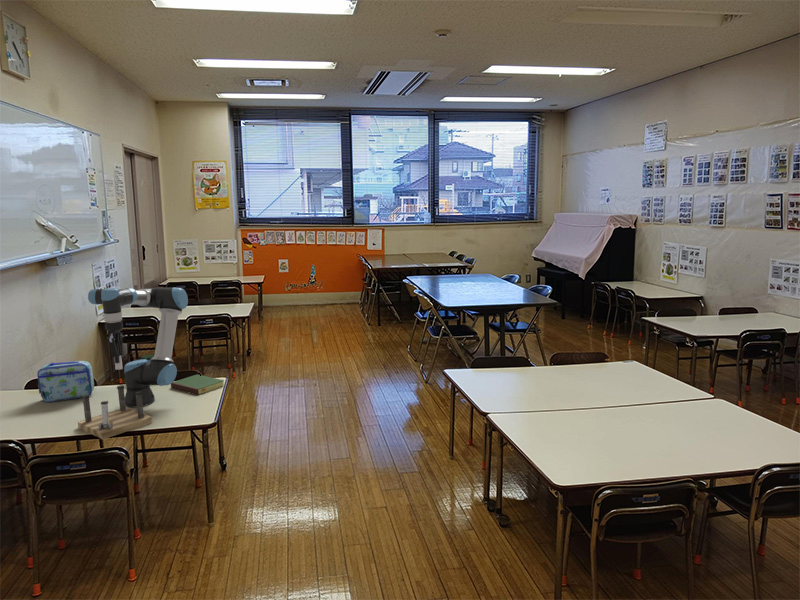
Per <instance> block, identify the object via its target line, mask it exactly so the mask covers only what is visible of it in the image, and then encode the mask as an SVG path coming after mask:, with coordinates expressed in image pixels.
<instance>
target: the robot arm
mask: <svg viewBox="0 0 800 600" xmlns="http://www.w3.org/2000/svg"><path fill="white" fill-rule="evenodd" d="M188 298H189V296H188V294H187V292H186V290H185V289H184V288H182V287H159V286H158V287H151V288H139V289H138V290H136V289H134V288H132V287H129V288H126V287H125V288H123V289H122V288H121V289H120V288H117V287H110V288H109V287H108V288H94V289H93V288H92V289H90V291H88V293H87V300H88V302H89V303H90V304H92V305H102V311H103V314H102V317H103V320H104V329H105V331H108V332H109V333H108V334H109V335H108V336H109V338H107V341H108V345H109V350H110V353H111V357H112V358H113V361H114V368H115V370H116V371H117V370H124V371H123V373H124V380H125V386H126V387H125V388H126V389H125V390H126V392H125V394H124V396H125V405H126V407H127V408H137V403H136V395H135V392H139V391H140V392H142V402H143V407H144V406H148V405H151V404H153V403H154V402H155V401H156V398H155V394H154V392H153V390H152V388H151V386H159V387H162V386H165V387H166V386H169V385H170V386H171V383H172V382H175V380H176V377H177V374H178V373H177V372H178V370H177V366H176V364H174V360H173V359H172V357H173V356H172V355H173V349H174V344H175V343H174V342H175V338H176V330H177V326H178V319H179V315H181V314H182V312H183V310H184V309H186V308H187V306H188V304H189V299H188ZM127 305H138V306H139V307H147V308H154V309H158V311H159V312H160V313H161V315H160V320H159V325H158V326H159V327H158V334H157V337H156V345H155V350H154V354H153V355H154V357H153V358H152V359H151V360H150V363H148V361H147V360H146V359H142V360H141V359H140V360H139V359H136V360H133V361H130V362H127V363H126V364H125V365H124V367H123V361H122V356H124V351H123V348H124V347H123V336H124V335H123V332H122V331H121V330H122V329H123V328H124V323H123V314H122V307H123V306H127Z"/></svg>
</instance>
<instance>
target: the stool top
mask: <svg viewBox="0 0 800 600" xmlns="http://www.w3.org/2000/svg"><path fill="white" fill-rule="evenodd" d="M116 389H117V394H118V395H117V396H118V402H119V403H118V404H119V409H115V410H112V411H110V412H109V411H108V418H109V423H108V424H109V429H102V424H103V423H102V414H100V415H97V416H93V417H92V412H91V405H90V404H91V403H90V402H91V401H90V396H89V395H84V396H82V398H81V399H82V403H83V411H84V419H83V420H80V421H77V428H78V429H80V430H82V431H84V432H86V433H89V434H90V435H93V436H95V437H97V438H99V439H100V440H106V439H109V438H111V437H114V436H117V435H121V434H124V433H126V432H129V431H132V430H135V429H138V428H141V427H144V426H146V425H149V424H150V425H151V424H152V423H153V417H152V416H151V415H148V414H145V413H144V412H145V411H144V406H143V402H142V392H140V391H139V392H135V395H136V403H137V407H136V410H135V409H132V408H131V407H127V406H126V405H125V385H122V384H121V385H116Z"/></svg>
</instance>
